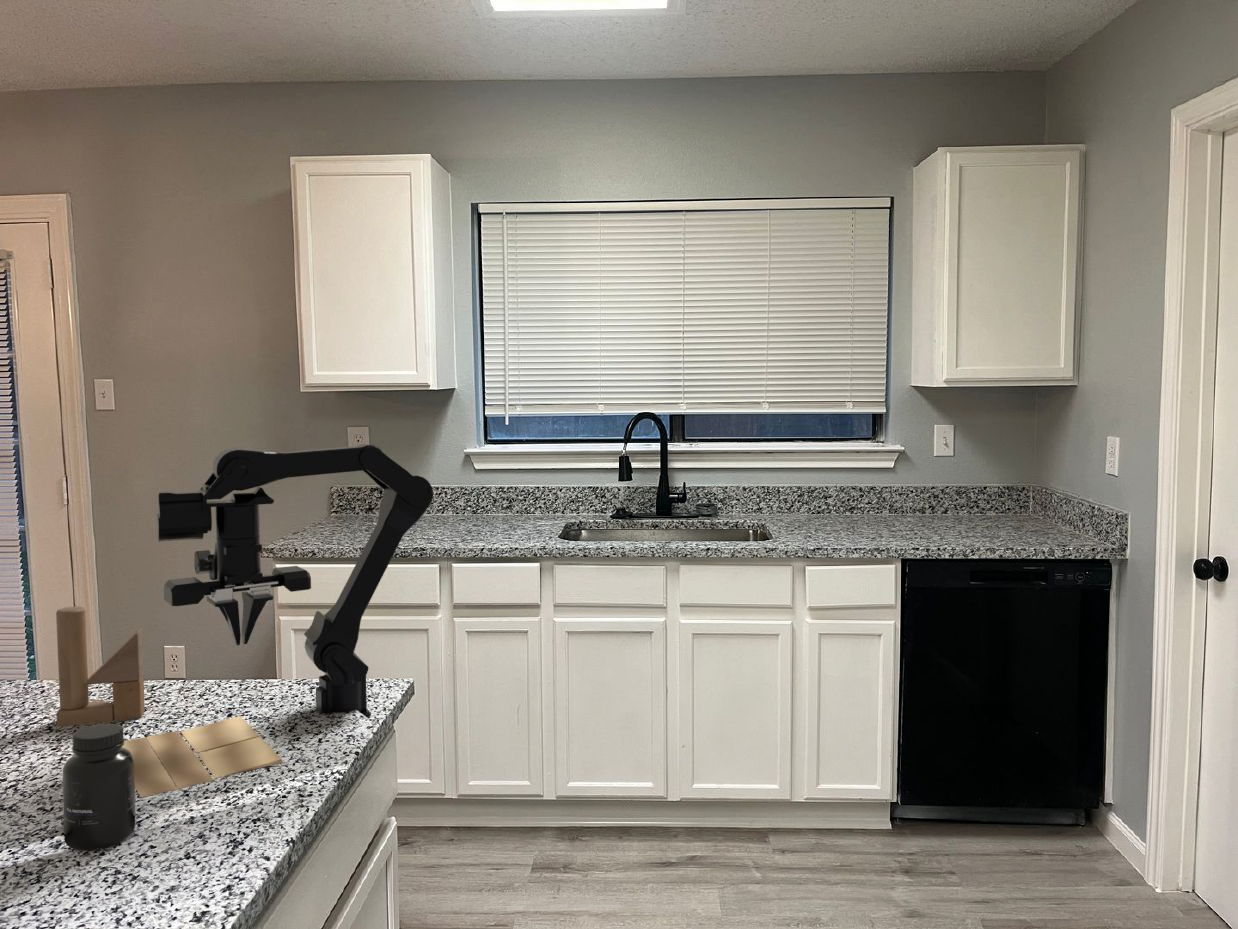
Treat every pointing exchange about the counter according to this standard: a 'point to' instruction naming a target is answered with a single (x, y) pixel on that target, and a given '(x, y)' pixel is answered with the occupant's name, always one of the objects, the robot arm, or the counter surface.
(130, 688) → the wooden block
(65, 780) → the supplement bottle
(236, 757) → the oak plank
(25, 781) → the counter surface
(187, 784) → the laid floor row
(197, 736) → the oak plank
